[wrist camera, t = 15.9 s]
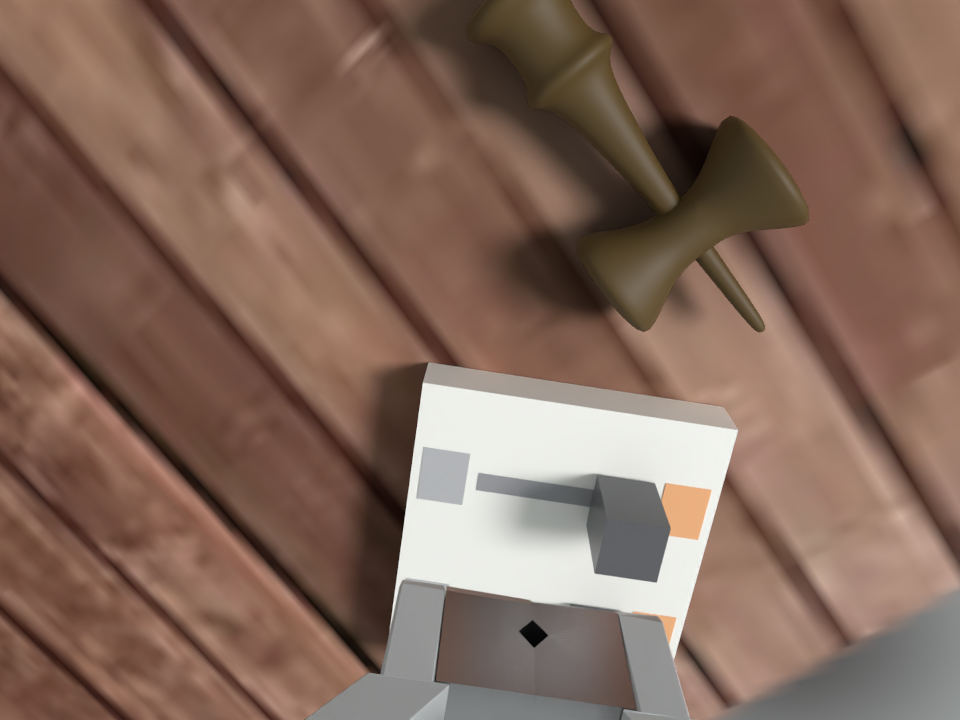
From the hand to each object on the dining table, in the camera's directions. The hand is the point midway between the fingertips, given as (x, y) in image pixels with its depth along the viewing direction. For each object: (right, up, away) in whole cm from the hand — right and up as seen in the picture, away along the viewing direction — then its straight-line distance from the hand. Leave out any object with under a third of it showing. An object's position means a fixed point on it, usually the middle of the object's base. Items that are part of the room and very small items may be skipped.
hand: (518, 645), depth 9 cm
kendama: (+7, +13, +31) cm, 34 cm away
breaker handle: (+7, -4, +33) cm, 34 cm away
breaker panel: (+3, -6, +37) cm, 38 cm away
